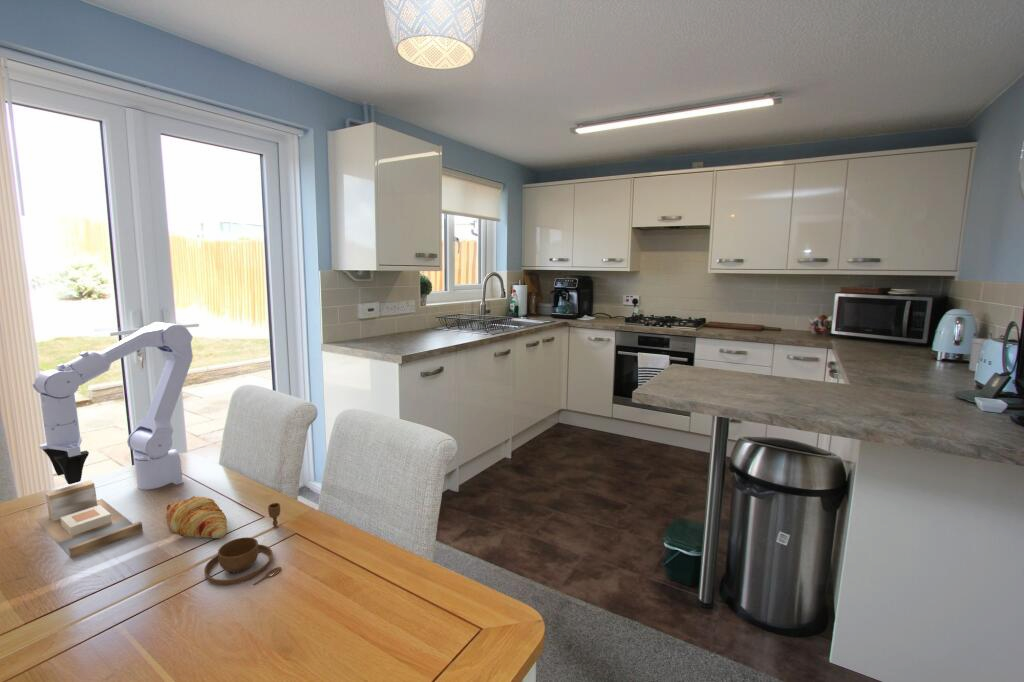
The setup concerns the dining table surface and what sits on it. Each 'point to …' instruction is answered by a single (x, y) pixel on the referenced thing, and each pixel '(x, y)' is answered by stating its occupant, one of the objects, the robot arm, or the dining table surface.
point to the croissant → (197, 518)
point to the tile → (85, 520)
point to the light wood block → (71, 499)
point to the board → (91, 532)
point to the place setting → (243, 555)
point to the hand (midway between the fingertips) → (68, 478)
